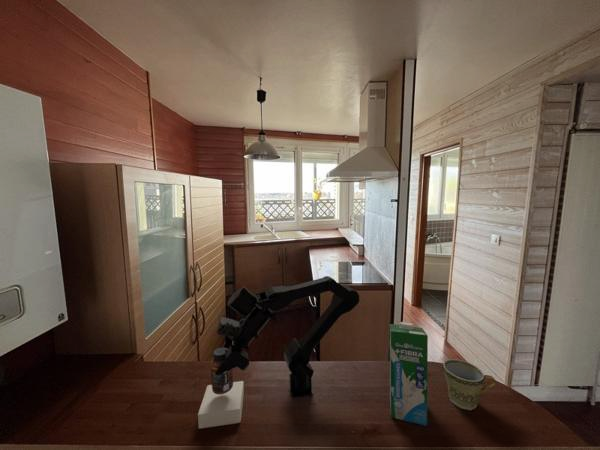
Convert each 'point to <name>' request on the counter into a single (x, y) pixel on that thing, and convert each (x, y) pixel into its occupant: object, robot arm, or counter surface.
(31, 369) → the counter surface
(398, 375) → the milk carton
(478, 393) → the ceramic cup
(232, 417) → the plinth
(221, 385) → the supplement bottle
